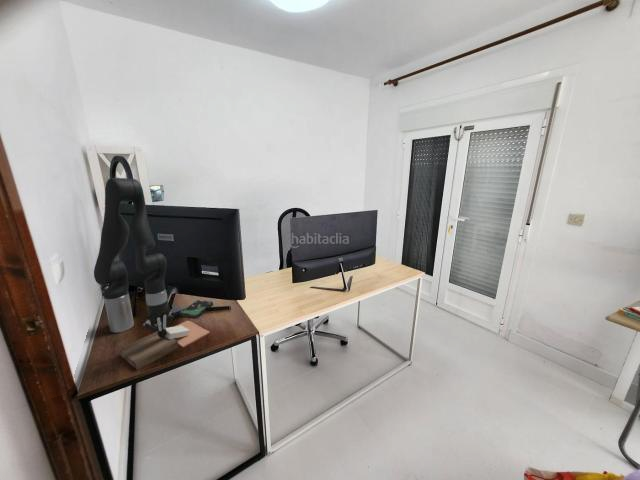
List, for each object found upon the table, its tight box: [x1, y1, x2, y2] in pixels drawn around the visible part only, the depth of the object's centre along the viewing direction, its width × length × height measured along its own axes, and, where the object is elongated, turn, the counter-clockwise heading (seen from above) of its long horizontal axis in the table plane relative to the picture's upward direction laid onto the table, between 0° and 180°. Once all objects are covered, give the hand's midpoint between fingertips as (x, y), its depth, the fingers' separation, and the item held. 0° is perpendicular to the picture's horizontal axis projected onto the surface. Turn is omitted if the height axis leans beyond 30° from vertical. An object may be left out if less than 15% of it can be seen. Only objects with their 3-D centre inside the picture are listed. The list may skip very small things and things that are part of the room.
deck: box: [119, 331, 180, 371], centre depth 107 cm, size 15×16×3 cm
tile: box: [165, 325, 190, 339], centre depth 116 cm, size 7×9×2 cm
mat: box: [173, 320, 211, 348], centre depth 120 cm, size 18×13×1 cm
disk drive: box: [179, 299, 214, 319], centre depth 141 cm, size 10×3×15 cm
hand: (162, 336), depth 111 cm, fingers closed
